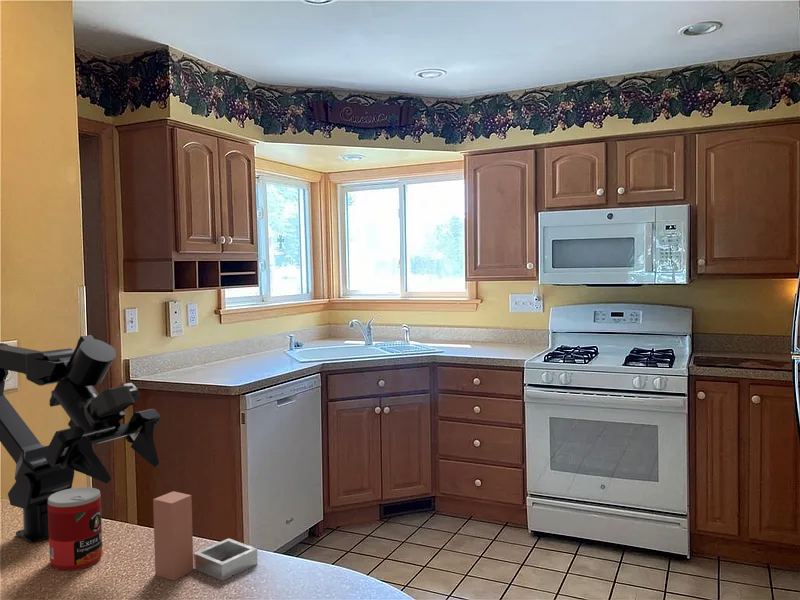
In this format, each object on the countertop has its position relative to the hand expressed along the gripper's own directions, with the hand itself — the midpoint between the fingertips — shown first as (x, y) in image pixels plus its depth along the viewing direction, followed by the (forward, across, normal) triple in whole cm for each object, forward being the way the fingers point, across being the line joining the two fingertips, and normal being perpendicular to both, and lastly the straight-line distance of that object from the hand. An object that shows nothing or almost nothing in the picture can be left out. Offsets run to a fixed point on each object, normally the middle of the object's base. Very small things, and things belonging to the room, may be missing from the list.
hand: (134, 473), depth 106 cm
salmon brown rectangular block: (+16, +1, +6) cm, 17 cm away
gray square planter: (+20, +6, +3) cm, 21 cm away
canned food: (+2, -4, +18) cm, 18 cm away
